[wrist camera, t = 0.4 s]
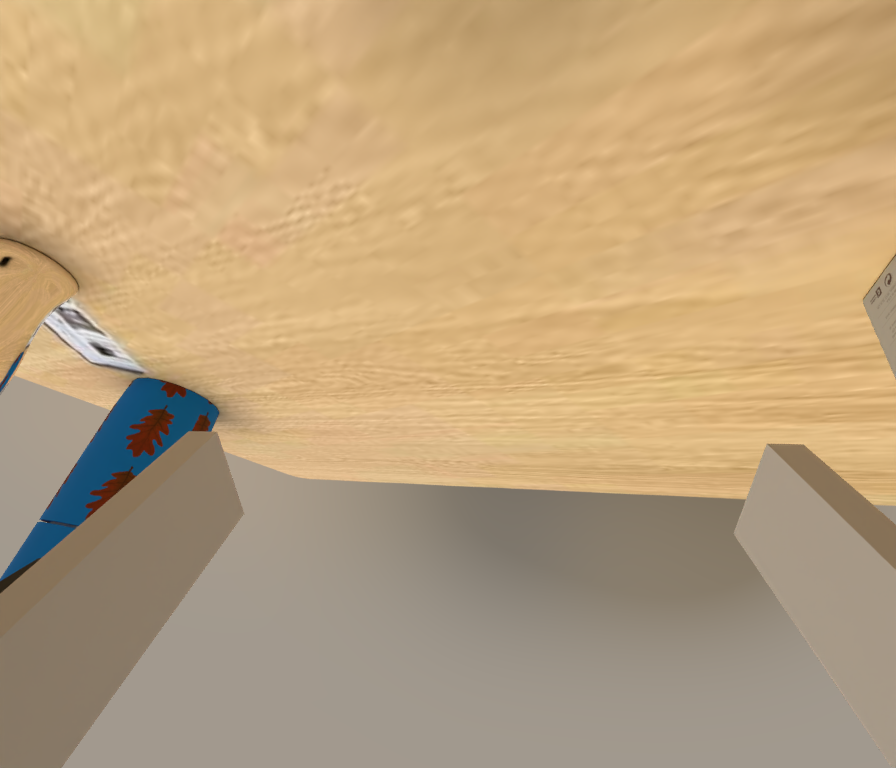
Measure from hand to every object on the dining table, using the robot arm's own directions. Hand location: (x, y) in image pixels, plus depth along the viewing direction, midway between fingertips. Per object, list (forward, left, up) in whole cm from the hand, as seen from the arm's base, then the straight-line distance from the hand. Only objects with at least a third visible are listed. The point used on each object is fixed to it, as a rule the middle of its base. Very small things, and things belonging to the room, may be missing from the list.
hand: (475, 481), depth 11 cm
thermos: (+36, -41, -17) cm, 57 cm away
